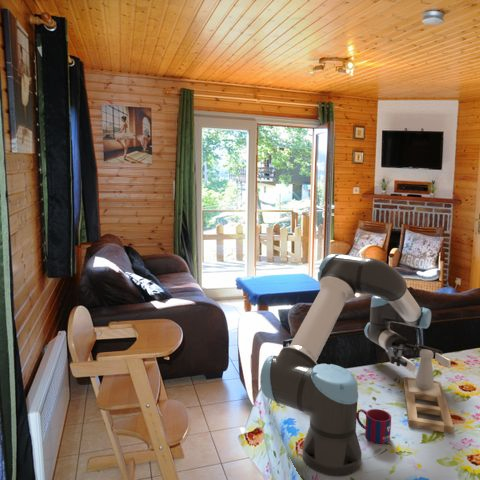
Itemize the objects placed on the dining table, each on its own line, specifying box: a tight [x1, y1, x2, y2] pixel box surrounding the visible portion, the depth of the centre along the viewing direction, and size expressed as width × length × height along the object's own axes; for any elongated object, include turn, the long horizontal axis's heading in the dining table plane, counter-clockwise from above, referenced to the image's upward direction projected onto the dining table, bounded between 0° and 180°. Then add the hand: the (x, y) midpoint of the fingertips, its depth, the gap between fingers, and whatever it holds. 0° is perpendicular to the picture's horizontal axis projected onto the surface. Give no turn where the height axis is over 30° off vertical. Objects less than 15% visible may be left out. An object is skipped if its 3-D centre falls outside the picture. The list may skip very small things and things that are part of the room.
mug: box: [356, 408, 392, 445], centre depth 126 cm, size 7×10×7 cm
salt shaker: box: [414, 349, 435, 390], centre depth 150 cm, size 6×6×13 cm
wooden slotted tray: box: [403, 376, 455, 434], centre depth 143 cm, size 12×30×2 cm, turn 162°
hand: (432, 366), depth 146 cm, fingers open, 13 cm apart
